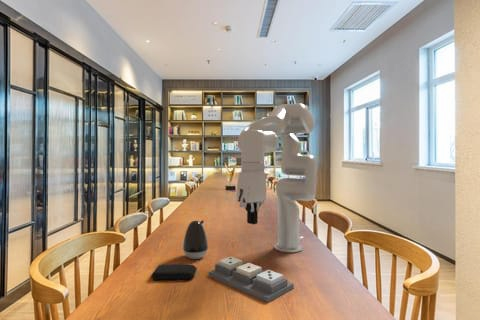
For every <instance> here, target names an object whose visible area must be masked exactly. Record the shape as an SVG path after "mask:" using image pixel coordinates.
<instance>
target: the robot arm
mask: <svg viewBox="0 0 480 320" xmlns="http://www.w3.org/2000/svg"><path fill="white" fill-rule="evenodd" d="M314 129H315V118H314V115H313V114H312V113H311V111H310V110H309V109H308V107H307V106H306V105H305V104H303V103H300V102H297V103H286V104H285V103H284V104H283V103H282V104H280V105H279V104H278V105H277V106H275V107H274V109H273V110H272V111H271V112H270V113H269V114H268V115H267V117H264V118H261V119H259V120H257V121H254V122H252V123H250V124H248V125H246V126H245V128H243V130H241V132H240V134H239V135H238V139H237V146H238V148H239V150H240V151H241V155H240V157H241V161H240V167H241V168H240V172H239V173H238V177H237V183H236V184H237V185H236V201H237V202H239V207H241V208H244V209H245V211H246V212H247V213H246V216H247V218H246V223H247V224H250V225H257V224H258V223H259V222H258V216H259V215H258V212H260V208H261V206H262V205H264V204H265V200H267V180H266V178H267V177H266V172H265V154H266V153H272V152H275V151H276V150H277V149H278V147H279V144H280V141H281V144H282V145H281V146H282V148H281V159H280V160H281V161H280V163H281V164H280V170H281V172H282V174H283V175H286V176H297V177H299V176H301V177H304V178H295V177H294V178H293V177H285V178H281V179H279V180H278V181H277V182H276V184H275V193H276V199H277V243H275V244H274V246H273V247H274V249H275V250H276V251H278V252H281V253H299V252H301V251H302V250H303V249H304V247H303V244H301V242H302V241H304V240H305V237H304V236H301V235H300V208H299V205H298V204H297V202H296V201H303V202H304V201H305V202H309V201H310V202H311V201H313V200H314V199H315V197H316V193H317V176H318V163H317V159H316V157H315V156H314V155H312V154H302V143H301V142H300V140H299V139H298V137H297V136H296V134H299V135H300V134H311V133H312V132H313V131H314ZM279 137H280V140H279Z"/></svg>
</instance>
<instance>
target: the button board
mask: <svg viewBox="0 0 480 320" xmlns="http://www.w3.org/2000/svg"><path fill="white" fill-rule="evenodd" d="M244 264H245V263H244V262H242V265H244ZM238 267H239V266H238ZM265 271H266V270H262V272H265ZM262 272H260V273H262ZM260 273H258V274H260ZM258 274H256V275H254V276H251V277H248V276H245V275H243V274H240V273H238V272H236V268H233V269H227V268H225V267H222V266H220V265H219V262H218V263H216V264H215V265H214V268H213V269H212V270H209V271H208V277H210V278H212V279H214V280H217V281H219V282H222V283H223V284H225V285H228V286H229V287H233V288H234V289H237V290H239V291H240V292H243V293H245V294H248V295H249V296H252V297H254V298H256V299H258V300H261V301H263V302H265V303H270V302H272V301H274V300H275V299H277V298H279V297H281V296H282V295H284V294H286V293H288V292H290V291H291V290H293V289H294V288H295V287H294V285H295V284H294V282H291V281H288V278H284V277H283V281H281V282H279V283H277V284H275V285H273V286H270V285H268V284H265V283H263V282H260V281H258V280H257V275H258Z"/></svg>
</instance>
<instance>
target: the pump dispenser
mask: <svg viewBox="0 0 480 320" xmlns="http://www.w3.org/2000/svg"><path fill="white" fill-rule="evenodd" d="M204 223H205V221H204V220H201V221H199V220H192V221H191V222H189V224H188V226H187V227H186V230H185V234H184V237H183V242H182V243H183V244H182V250H183V252H184V255H185V256H186V258H189V259H191V260H199V259H200V260H201V259H202V258H204V257H205V255H206V254H207V252H208V249H209V242H208V238H207V234H206V231H205V228H204V225H203V224H204Z"/></svg>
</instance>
